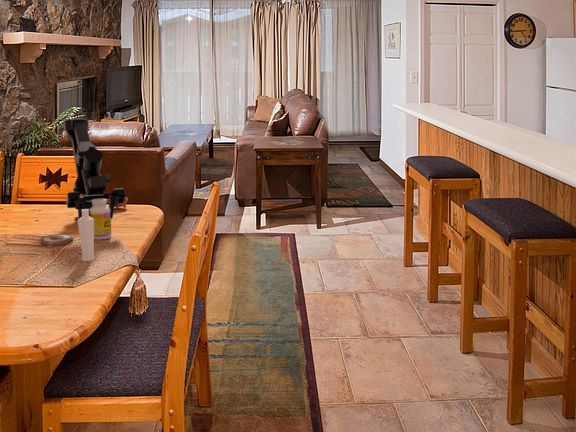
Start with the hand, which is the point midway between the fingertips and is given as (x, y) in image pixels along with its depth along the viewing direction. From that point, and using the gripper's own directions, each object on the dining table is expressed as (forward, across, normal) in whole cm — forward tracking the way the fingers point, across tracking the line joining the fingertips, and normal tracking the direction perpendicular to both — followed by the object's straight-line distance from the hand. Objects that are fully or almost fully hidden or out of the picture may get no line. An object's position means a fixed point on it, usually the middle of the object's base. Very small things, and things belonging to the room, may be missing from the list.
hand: (101, 219), depth 210 cm
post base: (+3, -14, +6) cm, 16 cm away
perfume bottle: (+20, -8, -10) cm, 24 cm away
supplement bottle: (+4, 0, +6) cm, 7 cm away
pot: (-26, +15, +35) cm, 46 cm away
